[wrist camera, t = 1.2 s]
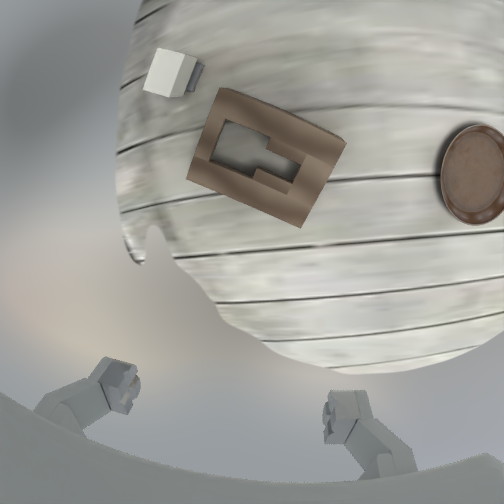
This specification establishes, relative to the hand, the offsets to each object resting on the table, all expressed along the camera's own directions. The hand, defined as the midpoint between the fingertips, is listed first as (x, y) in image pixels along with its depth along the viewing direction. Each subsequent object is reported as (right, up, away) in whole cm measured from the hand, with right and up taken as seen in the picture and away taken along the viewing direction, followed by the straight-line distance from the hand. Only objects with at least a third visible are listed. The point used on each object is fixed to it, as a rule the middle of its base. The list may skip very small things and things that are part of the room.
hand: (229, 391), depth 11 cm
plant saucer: (+39, +19, +27) cm, 51 cm away
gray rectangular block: (-9, +32, +26) cm, 43 cm away
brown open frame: (+3, +21, +31) cm, 38 cm away
